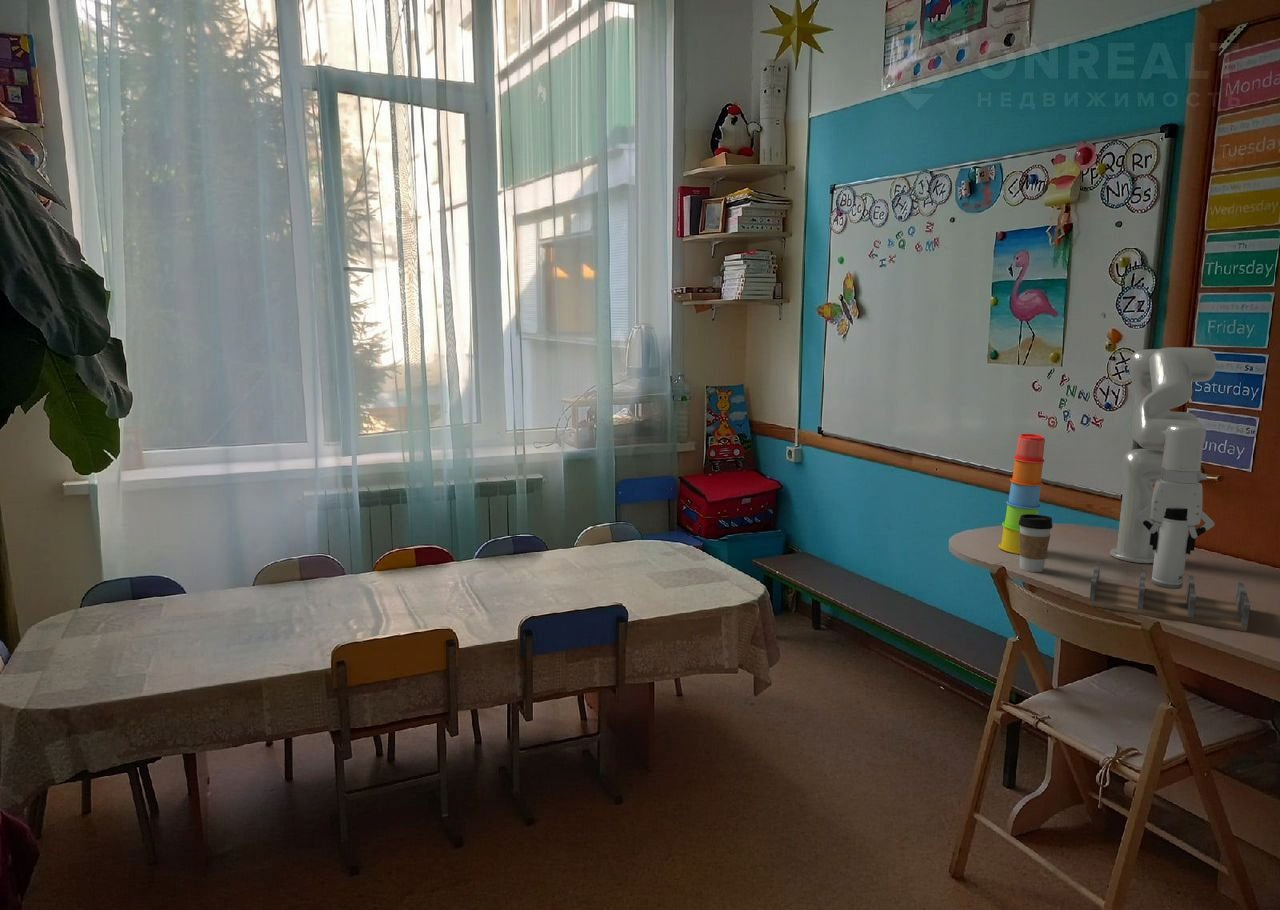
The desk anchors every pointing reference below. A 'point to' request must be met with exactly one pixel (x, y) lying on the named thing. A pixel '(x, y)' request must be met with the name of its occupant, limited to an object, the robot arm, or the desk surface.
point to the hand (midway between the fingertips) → (1171, 550)
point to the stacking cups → (1023, 488)
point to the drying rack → (1171, 603)
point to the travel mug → (1171, 550)
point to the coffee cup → (1034, 541)
